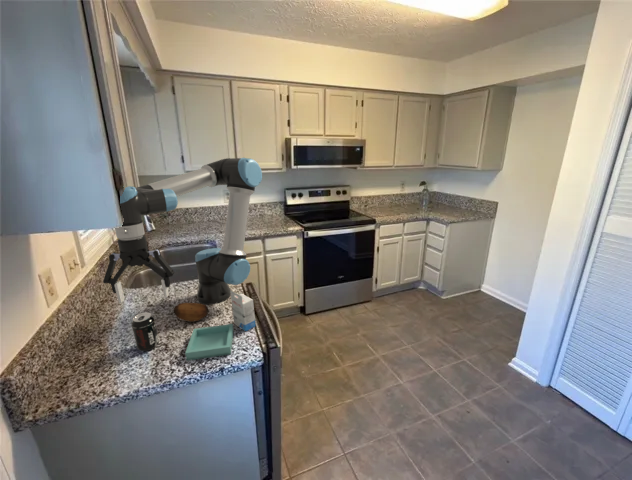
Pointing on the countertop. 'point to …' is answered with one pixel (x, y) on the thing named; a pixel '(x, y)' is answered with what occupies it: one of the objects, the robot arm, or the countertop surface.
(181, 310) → the potato
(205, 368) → the countertop surface
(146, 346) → the beverage can
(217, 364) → the countertop surface
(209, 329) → the collection tray
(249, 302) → the ink box
